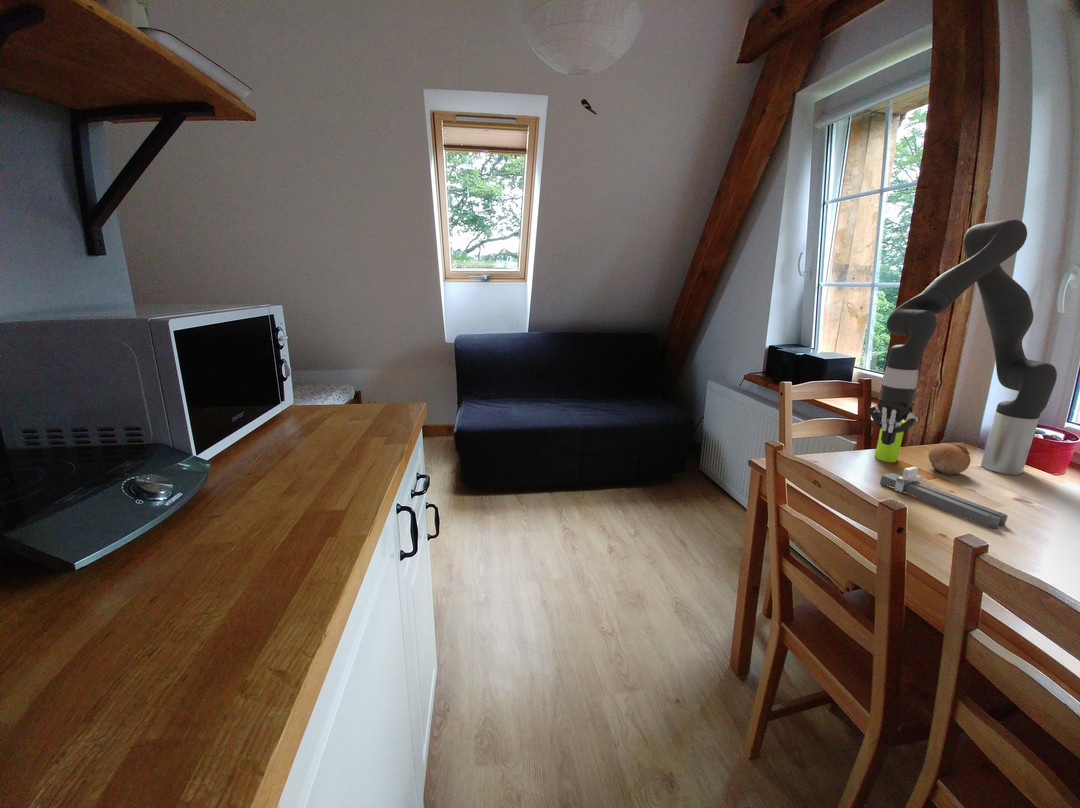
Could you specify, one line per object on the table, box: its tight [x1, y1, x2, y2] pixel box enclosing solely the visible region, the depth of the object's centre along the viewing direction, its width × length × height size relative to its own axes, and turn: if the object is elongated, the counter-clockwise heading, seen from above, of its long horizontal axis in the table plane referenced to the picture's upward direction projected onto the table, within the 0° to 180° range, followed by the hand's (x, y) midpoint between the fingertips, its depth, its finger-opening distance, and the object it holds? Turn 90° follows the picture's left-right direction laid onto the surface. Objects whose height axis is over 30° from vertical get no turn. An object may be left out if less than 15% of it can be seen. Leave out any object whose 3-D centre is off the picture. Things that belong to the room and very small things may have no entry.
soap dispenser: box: [874, 400, 916, 463], centre depth 150 cm, size 6×7×20 cm
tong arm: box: [911, 482, 1009, 526], centre depth 123 cm, size 22×2×2 cm, turn 24°
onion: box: [928, 442, 971, 476], centre depth 142 cm, size 10×9×10 cm
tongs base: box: [879, 472, 1000, 530], centre depth 124 cm, size 26×5×2 cm, turn 22°
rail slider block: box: [893, 466, 922, 493], centre depth 130 cm, size 2×7×6 cm, turn 112°
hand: (887, 444), depth 135 cm, fingers closed
